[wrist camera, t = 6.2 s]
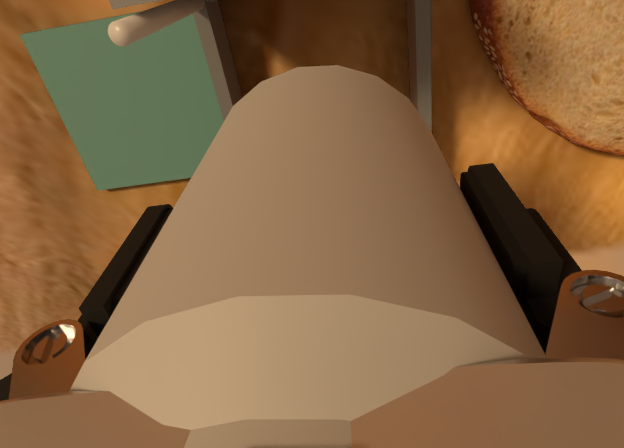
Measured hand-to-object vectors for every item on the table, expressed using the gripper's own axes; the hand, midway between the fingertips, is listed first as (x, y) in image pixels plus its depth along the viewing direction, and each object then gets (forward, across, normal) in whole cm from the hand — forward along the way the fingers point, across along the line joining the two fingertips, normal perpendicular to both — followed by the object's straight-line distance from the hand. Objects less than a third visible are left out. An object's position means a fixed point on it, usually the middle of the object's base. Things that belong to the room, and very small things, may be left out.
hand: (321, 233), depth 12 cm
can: (+4, 0, 0) cm, 4 cm away
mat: (+18, +13, +1) cm, 22 cm away
